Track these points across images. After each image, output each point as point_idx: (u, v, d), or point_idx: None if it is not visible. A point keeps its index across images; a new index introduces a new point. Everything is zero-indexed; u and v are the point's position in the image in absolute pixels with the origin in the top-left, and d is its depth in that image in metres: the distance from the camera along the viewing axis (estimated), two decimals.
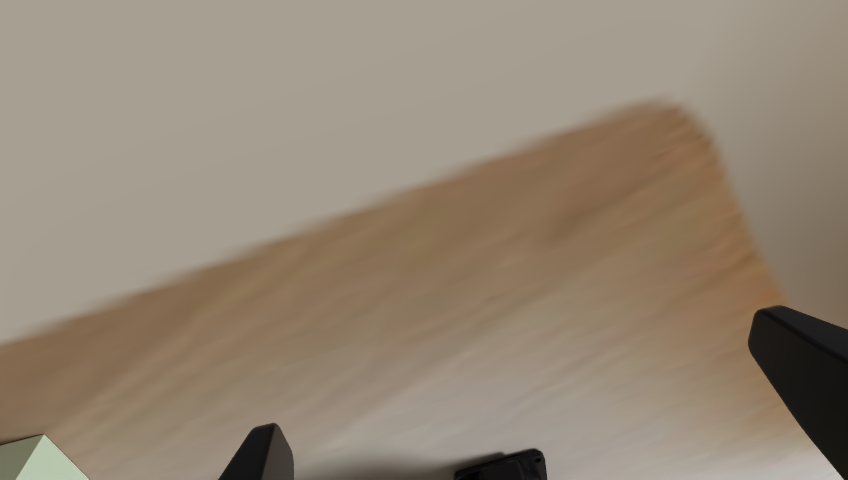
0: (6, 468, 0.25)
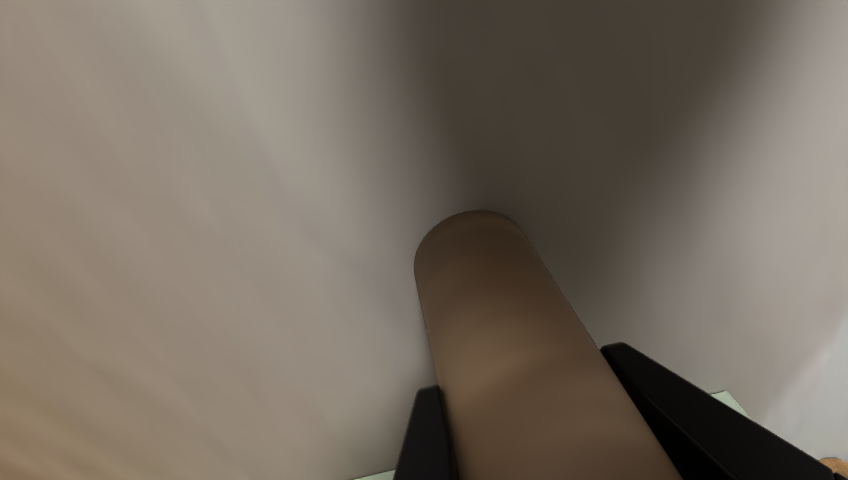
0: None
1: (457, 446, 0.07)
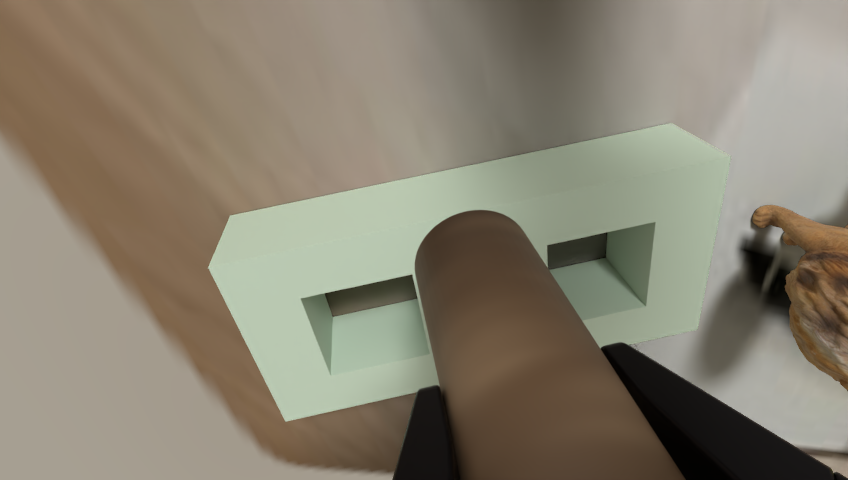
0: None
1: (458, 445, 0.07)
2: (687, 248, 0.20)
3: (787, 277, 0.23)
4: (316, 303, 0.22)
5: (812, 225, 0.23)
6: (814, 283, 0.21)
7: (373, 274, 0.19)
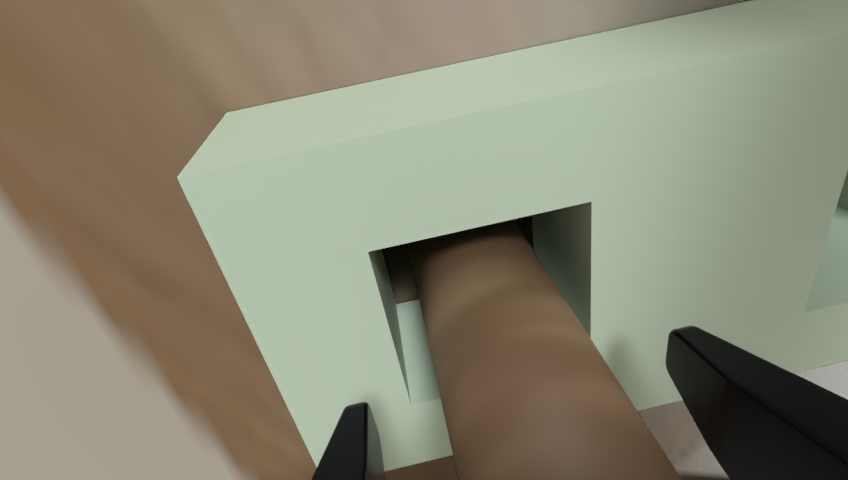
0: None
1: (436, 356, 0.09)
2: None
3: None
4: (382, 273, 0.12)
5: None
6: None
7: (517, 200, 0.09)
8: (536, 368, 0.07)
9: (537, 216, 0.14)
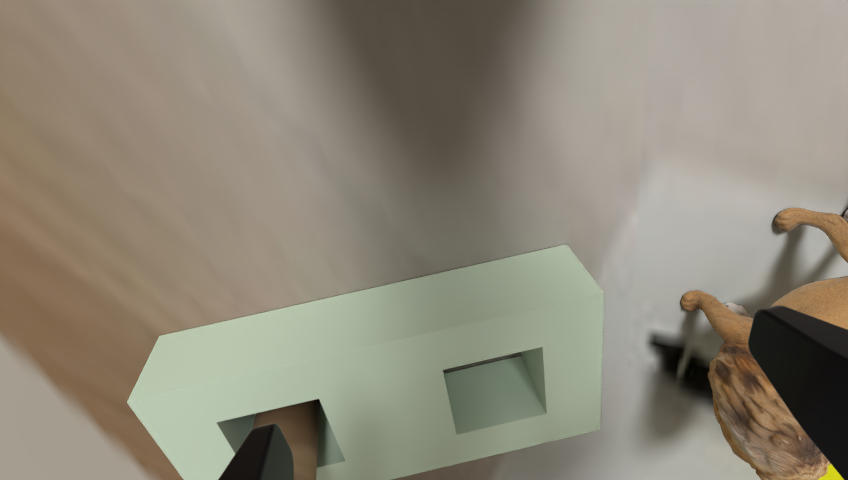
0: None
1: None
2: (577, 366, 0.22)
3: (710, 364, 0.25)
4: None
5: (729, 316, 0.24)
6: (728, 377, 0.23)
7: (282, 400, 0.21)
8: None
9: None
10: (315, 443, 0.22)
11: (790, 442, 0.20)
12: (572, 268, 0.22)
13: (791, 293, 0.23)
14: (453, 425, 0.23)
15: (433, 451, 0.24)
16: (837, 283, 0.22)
